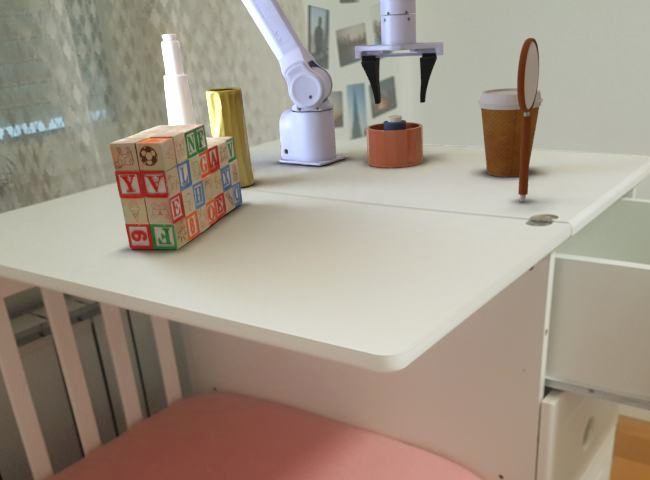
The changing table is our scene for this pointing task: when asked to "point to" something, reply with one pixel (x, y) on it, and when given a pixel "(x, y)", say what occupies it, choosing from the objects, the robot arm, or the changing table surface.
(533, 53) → the magnifying glass
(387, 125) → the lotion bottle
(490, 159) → the disposable coffee cup
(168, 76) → the cosmetic bottle
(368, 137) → the cup
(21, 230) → the changing table surface
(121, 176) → the stack of blocks
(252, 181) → the vase
